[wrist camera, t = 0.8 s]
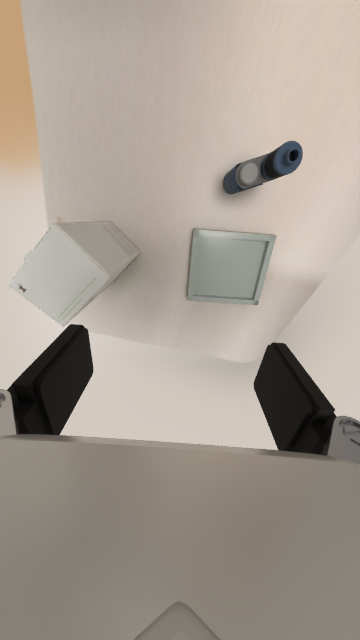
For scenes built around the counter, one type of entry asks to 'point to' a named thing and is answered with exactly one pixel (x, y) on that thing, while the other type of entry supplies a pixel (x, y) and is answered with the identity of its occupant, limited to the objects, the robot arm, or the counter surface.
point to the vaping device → (264, 168)
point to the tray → (228, 266)
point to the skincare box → (73, 267)
